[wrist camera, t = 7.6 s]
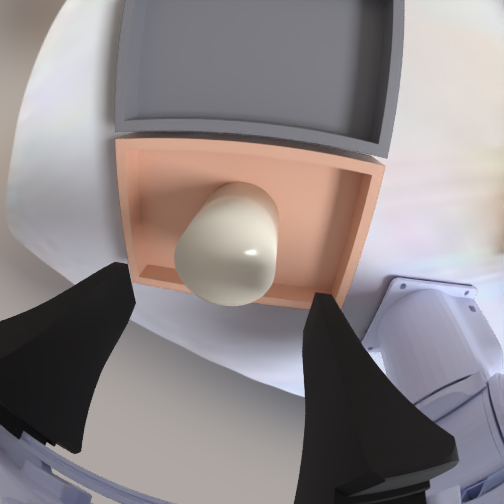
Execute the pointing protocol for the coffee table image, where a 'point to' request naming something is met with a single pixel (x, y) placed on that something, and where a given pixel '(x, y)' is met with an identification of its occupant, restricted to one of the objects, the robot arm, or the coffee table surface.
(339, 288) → the tray
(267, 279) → the beige rounded cylinder
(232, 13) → the tray
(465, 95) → the coffee table surface
